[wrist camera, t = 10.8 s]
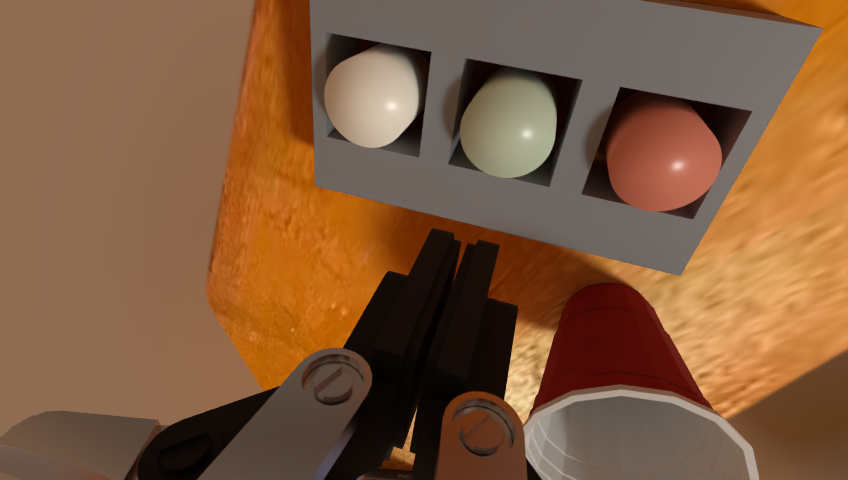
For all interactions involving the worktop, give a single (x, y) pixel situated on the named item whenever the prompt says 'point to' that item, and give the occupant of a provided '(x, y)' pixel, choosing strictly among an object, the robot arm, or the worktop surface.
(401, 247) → the worktop surface
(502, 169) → the sage button
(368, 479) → the small box
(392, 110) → the ivory button
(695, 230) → the panel
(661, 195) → the brick button
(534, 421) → the plastic cup
